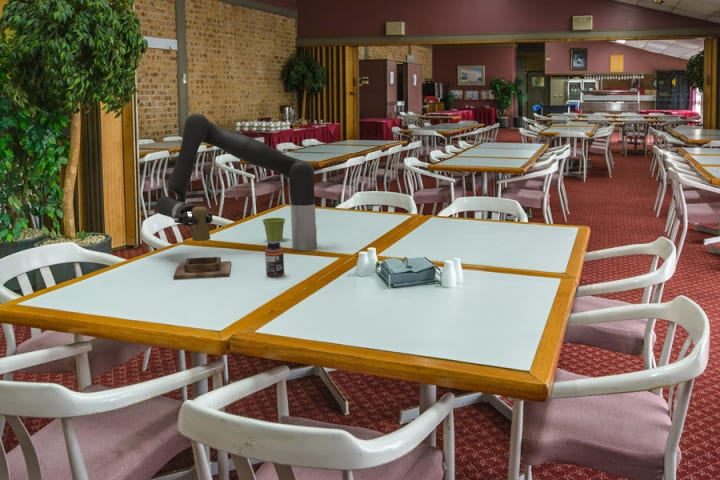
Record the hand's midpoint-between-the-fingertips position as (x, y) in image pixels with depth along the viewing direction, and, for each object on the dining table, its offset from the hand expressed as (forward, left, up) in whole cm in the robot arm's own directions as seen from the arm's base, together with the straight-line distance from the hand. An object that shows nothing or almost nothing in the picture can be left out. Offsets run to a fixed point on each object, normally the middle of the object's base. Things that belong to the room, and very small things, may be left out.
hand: (203, 221), depth 249 cm
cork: (+1, -3, -7) cm, 7 cm away
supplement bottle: (-23, +8, -18) cm, 30 cm away
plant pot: (-24, -50, -18) cm, 58 cm away
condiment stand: (+1, -2, -18) cm, 18 cm away
